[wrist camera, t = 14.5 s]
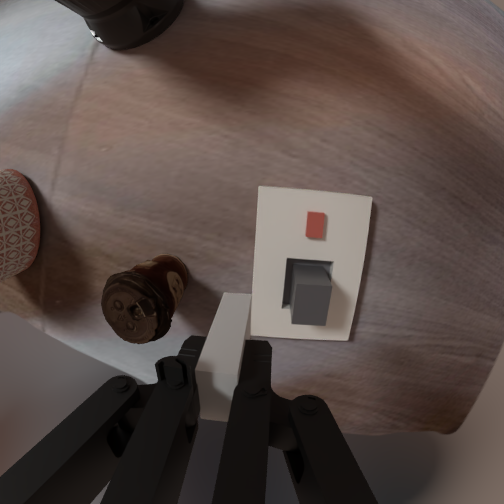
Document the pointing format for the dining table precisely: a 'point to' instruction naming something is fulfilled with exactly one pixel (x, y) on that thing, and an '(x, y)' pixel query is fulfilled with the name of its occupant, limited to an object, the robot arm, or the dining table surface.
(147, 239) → the dining table surface
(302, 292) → the plug
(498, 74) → the dining table surface
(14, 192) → the planter
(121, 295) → the coffee cup
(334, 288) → the faceplate
